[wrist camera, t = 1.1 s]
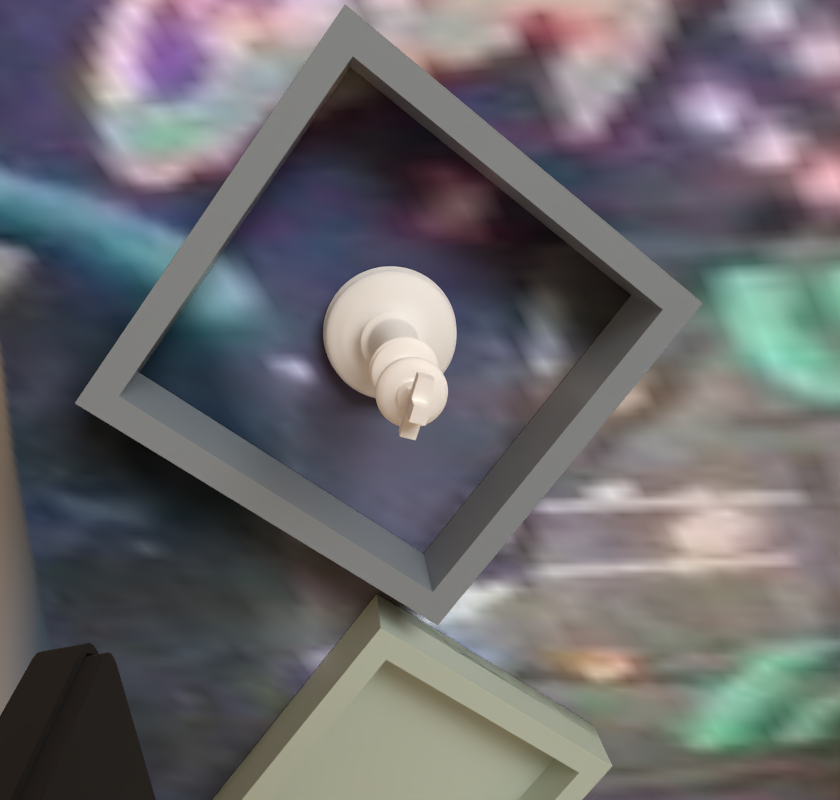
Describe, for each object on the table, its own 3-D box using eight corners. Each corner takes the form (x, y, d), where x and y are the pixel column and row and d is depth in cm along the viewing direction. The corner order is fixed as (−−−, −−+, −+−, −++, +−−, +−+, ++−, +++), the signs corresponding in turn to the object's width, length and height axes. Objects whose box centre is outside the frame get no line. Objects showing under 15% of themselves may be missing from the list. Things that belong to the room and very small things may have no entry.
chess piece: (473, 287, 29) (542, 349, 20) (433, 410, 31) (481, 525, 21) (343, 249, 28) (351, 294, 19) (308, 378, 30) (298, 481, 20)
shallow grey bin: (667, 289, 30) (702, 303, 27) (428, 584, 33) (437, 625, 30) (343, 21, 26) (345, 4, 23) (99, 379, 29) (75, 403, 26)
